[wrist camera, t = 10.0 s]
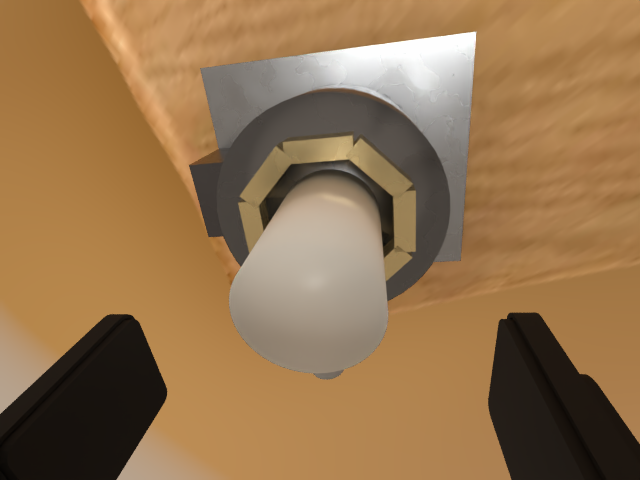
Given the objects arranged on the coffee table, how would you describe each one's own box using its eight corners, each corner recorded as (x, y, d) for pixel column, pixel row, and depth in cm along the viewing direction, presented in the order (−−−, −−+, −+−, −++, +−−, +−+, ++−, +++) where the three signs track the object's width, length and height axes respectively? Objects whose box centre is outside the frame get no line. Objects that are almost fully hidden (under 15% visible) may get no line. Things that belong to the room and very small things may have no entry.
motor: (469, 33, 23) (558, 4, 12) (456, 252, 29) (505, 352, 19) (208, 68, 25) (99, 67, 15) (251, 260, 32) (196, 352, 22)
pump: (377, 164, 17) (385, 238, 9) (383, 284, 19) (392, 409, 12) (275, 173, 17) (211, 247, 10) (295, 287, 20) (256, 406, 13)
